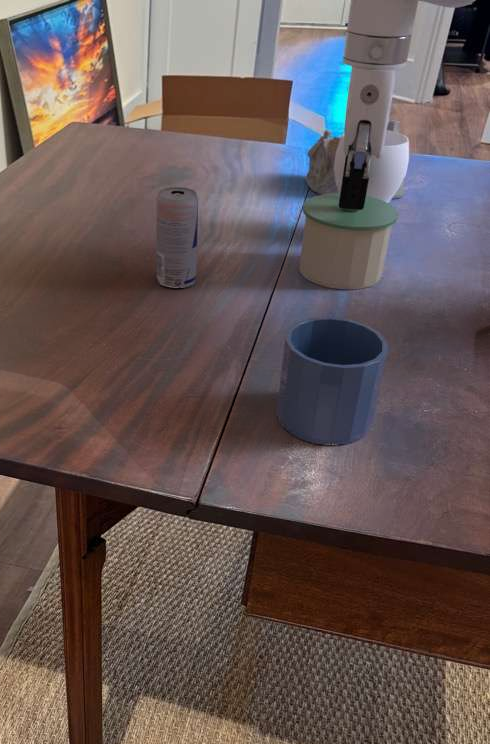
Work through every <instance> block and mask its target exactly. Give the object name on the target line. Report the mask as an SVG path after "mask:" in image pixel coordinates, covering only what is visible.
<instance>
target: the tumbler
mask: <svg viewBox="0 0 490 744" xmlns="http://www.w3.org/2000/svg"><path fill="white" fill-rule="evenodd" d="M285 334H286V335H285V337H284V346H283V355H282V364H281V371H280V373H281V374H280V380H279V388H278V397H277V406H276V417H277V416H278V418H277V420H278V419H279V420H278V422H279V421H280V422H279V424H280V423H281V424H282V425H283V427H284V428H285V429H286V430H287V431H289V432H290V433H291V434H293V435H294V436H293V435H292V436H293V437H295V436H296V437H298V438H297V439H299V438H301V439H303V440H307V441H309V442H313V443H318V444H330V445H332V444H334V445H335V444H337V445H336V446H339V445H338V444H345V445H348V444H347V443H349V444H352V443H355V442H357V441H360V440H361V439H363V438H364V437H365V436H366V435H367V433H368V432H369V431H370V429H371V426H372V423H373V417H374V415H375V410H376V406H377V401H378V396H379V391H380V387H381V383H382V378H383V373H384V369H385V365H386V360H387V356H388V341H387V340H386V339H385V338H384V336H383V335H382V334H381V333H380V332H379V331H378V330H376V329H374V328H373V327H371V326H369V325H368V324H366V323H362V322H359V321H356V320H352V319H350V318H342V317H336V316H322V317H321V316H320V317H319V316H318V317H310V318H307V319H303V320H301V321H297V322H295V323H294V324H293V325H292V326H290V327H289V328H288V329H287V330H286V333H285ZM281 424H280V425H281ZM283 427H282V428H283ZM284 428H283V429H284ZM285 429H284V430H285ZM286 430H285V431H286ZM287 431H286V432H287ZM289 432H288V433H289ZM290 433H289V434H290ZM291 434H290V435H291ZM296 437H295V438H296ZM301 439H300V440H301ZM303 440H302V441H303ZM354 441H355V442H354ZM309 442H308V443H309ZM351 442H352V443H351ZM313 443H312V444H313ZM318 444H317V445H318Z"/></svg>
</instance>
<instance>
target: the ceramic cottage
mask: <svg viewBox="0 0 490 744" xmlns="http://www.w3.org/2000/svg"><path fill="white" fill-rule="evenodd" d="M387 130H388V131H393V132H396V133H399V134H400V121H399V120H397V119H390V120H389V121H388V125H387ZM341 137H342V136H340V137H339V136H333V138H332V132H331V130H329V129H325V130H324V132H323V136H320V138H319V139H318V140H317V142H315V144H314V145H312V146H311V147H310V148H309V150H308V151H307V156H308V158H309V160H308V161H309V162H308V172H307V173H306V176H305V178H304V182H305V183H306V185H307V186H308V187H309V189H310V191H312V192H315V193H316V194H317V195H323V194H333V193H339V191H338V188H337V185H336V181H335V173H334V162H335V155H336V150H337V147H338V145H339V142H340V139H341ZM404 196H405V181H404V180H403V181H402V183H401V185H400V187H399V189H398V190H397V192H396V193H395V194H394V196H393V197H392V199H391V200H390V201H392V200H396V199H399V198H403V197H404Z"/></svg>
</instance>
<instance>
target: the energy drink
mask: <svg viewBox="0 0 490 744" xmlns="http://www.w3.org/2000/svg"><path fill="white" fill-rule="evenodd" d="M155 199H156V202H155V203H156V207H155V208H156V210H155V211H156V278H157V279H158V280H157V279H156V280H157V282H158V281H159V282H161V283H162V284H164V285H167V286H171V287H179V288H181V287H187V286H190V287H192V286H193V285H194V284H195V283H196V282H197V264H198V263H197V262H198V261H197V260H198V259H197V258H198V225H199V223H198V221H199V199H198V195H197V192H196V191H195V190H194V189H192V188H189V187H183V186H170V187H164V188H161V189H159V190H158V191H157V197H156V198H155ZM159 282H158V283H159ZM192 284H193V285H192ZM191 285H192V286H191Z"/></svg>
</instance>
